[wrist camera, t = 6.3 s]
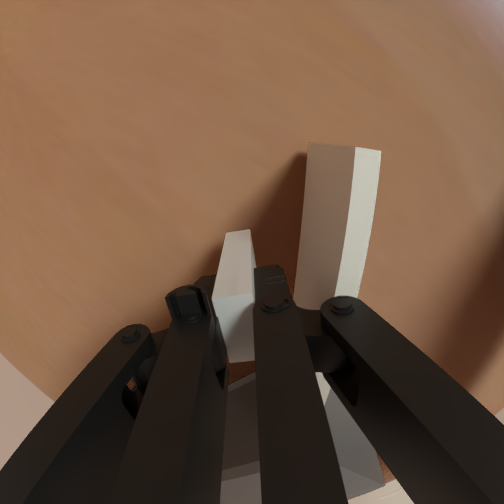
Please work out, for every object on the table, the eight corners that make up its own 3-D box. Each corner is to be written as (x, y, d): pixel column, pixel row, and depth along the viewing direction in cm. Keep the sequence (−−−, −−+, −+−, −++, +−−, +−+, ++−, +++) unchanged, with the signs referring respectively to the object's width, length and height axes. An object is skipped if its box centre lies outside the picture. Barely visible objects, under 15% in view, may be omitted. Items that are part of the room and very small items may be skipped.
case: (298, 346, 20) (318, 469, 11) (363, 410, 23) (387, 494, 14) (138, 423, 25) (115, 498, 16) (215, 466, 28) (209, 531, 19)
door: (311, 350, 20) (332, 449, 12) (283, 350, 20) (293, 452, 12) (342, 146, 14) (426, 160, 6) (304, 142, 14) (359, 147, 6)
